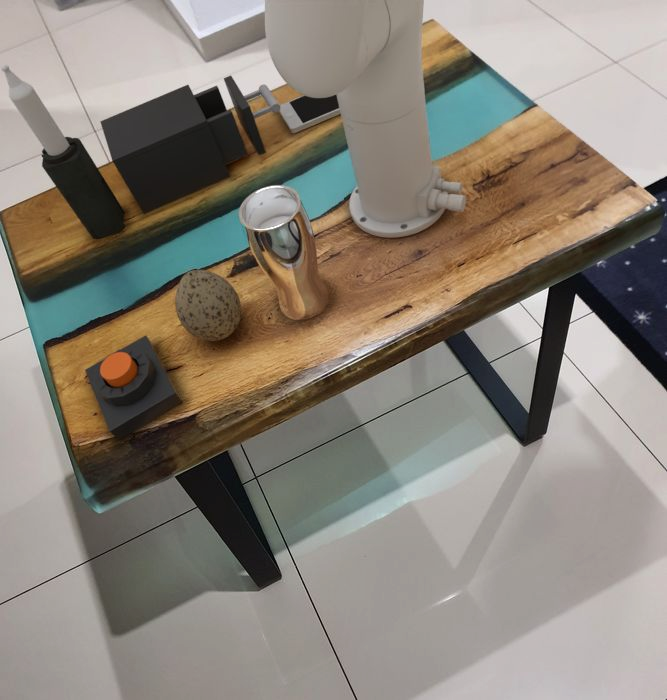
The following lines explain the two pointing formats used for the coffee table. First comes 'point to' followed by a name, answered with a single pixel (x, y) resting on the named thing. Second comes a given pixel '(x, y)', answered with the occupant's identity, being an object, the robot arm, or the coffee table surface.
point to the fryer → (164, 149)
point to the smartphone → (308, 111)
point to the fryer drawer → (225, 122)
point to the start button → (119, 369)
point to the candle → (68, 164)
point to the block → (135, 391)
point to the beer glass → (285, 249)
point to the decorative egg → (207, 305)
